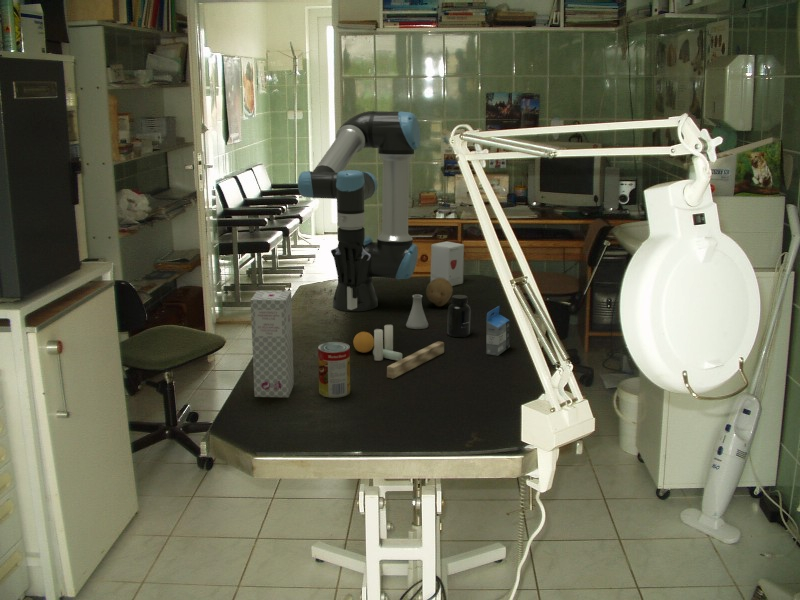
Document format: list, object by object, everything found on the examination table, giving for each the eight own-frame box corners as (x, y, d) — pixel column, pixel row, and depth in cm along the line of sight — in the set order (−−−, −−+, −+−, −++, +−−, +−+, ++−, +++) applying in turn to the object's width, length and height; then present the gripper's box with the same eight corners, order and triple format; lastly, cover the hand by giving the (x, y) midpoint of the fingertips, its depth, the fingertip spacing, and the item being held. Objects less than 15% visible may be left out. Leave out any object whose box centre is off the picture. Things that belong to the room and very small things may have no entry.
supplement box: (448, 287, 323) (449, 247, 319) (429, 283, 329) (430, 244, 325) (463, 283, 329) (464, 244, 325) (445, 279, 335) (446, 240, 331)
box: (254, 396, 219) (250, 299, 212) (261, 384, 227) (257, 290, 220) (288, 397, 219) (285, 300, 212) (293, 385, 227) (291, 291, 220)
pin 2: (387, 352, 252) (387, 324, 250) (394, 354, 251) (394, 325, 248) (382, 354, 250) (382, 326, 248) (389, 356, 249) (389, 327, 246)
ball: (364, 328, 255) (379, 333, 251) (363, 347, 256) (377, 353, 252) (349, 330, 250) (364, 336, 246) (348, 351, 252) (362, 356, 248)
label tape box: (498, 356, 249) (499, 314, 246) (484, 354, 251) (486, 312, 248) (509, 347, 257) (511, 307, 253) (497, 345, 259) (498, 305, 255)
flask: (406, 330, 273) (406, 298, 270) (405, 323, 280) (405, 292, 277) (429, 329, 273) (429, 298, 271) (427, 323, 280) (428, 292, 278)
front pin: (377, 346, 250) (402, 351, 245) (377, 353, 251) (402, 359, 246) (372, 348, 248) (397, 354, 243) (373, 356, 249) (397, 362, 244)
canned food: (342, 384, 227) (341, 340, 224) (355, 394, 221) (355, 348, 218) (314, 389, 224) (313, 344, 221) (326, 399, 217) (325, 353, 214)
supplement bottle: (468, 338, 265) (469, 300, 261) (445, 337, 266) (446, 298, 263) (471, 331, 271) (472, 294, 268) (449, 330, 272) (449, 293, 269)
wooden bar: (438, 351, 253) (438, 341, 252) (444, 352, 252) (444, 342, 251) (386, 377, 232) (386, 366, 232) (393, 378, 231) (393, 368, 231)
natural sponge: (444, 311, 292) (444, 282, 290) (420, 308, 297) (421, 279, 294) (456, 305, 300) (457, 277, 297) (433, 301, 304) (433, 273, 301)
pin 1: (377, 357, 248) (377, 328, 245) (384, 358, 246) (384, 330, 244) (372, 359, 246) (372, 330, 244) (379, 361, 245) (379, 332, 242)
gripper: (324, 226, 245) (326, 307, 252) (362, 232, 238) (363, 315, 245) (340, 222, 251) (342, 301, 258) (378, 227, 244) (378, 308, 251)
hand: (352, 308), depth 251 cm, fingers closed
